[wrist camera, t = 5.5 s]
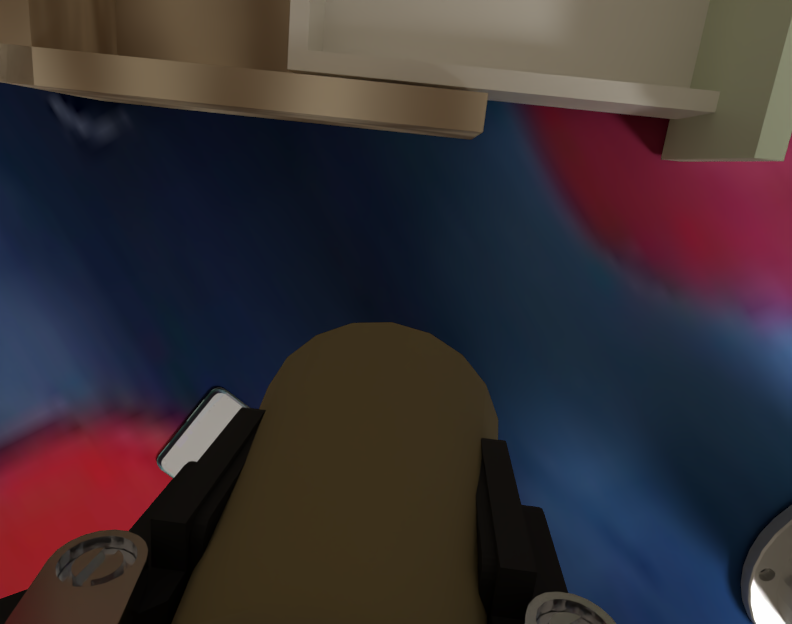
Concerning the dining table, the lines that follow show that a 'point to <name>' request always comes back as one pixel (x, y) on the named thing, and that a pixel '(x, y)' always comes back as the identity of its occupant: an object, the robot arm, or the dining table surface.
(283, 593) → the cork
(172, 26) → the caddy
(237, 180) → the dining table surface
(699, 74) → the drawer
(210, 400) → the smartphone
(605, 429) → the dining table surface
